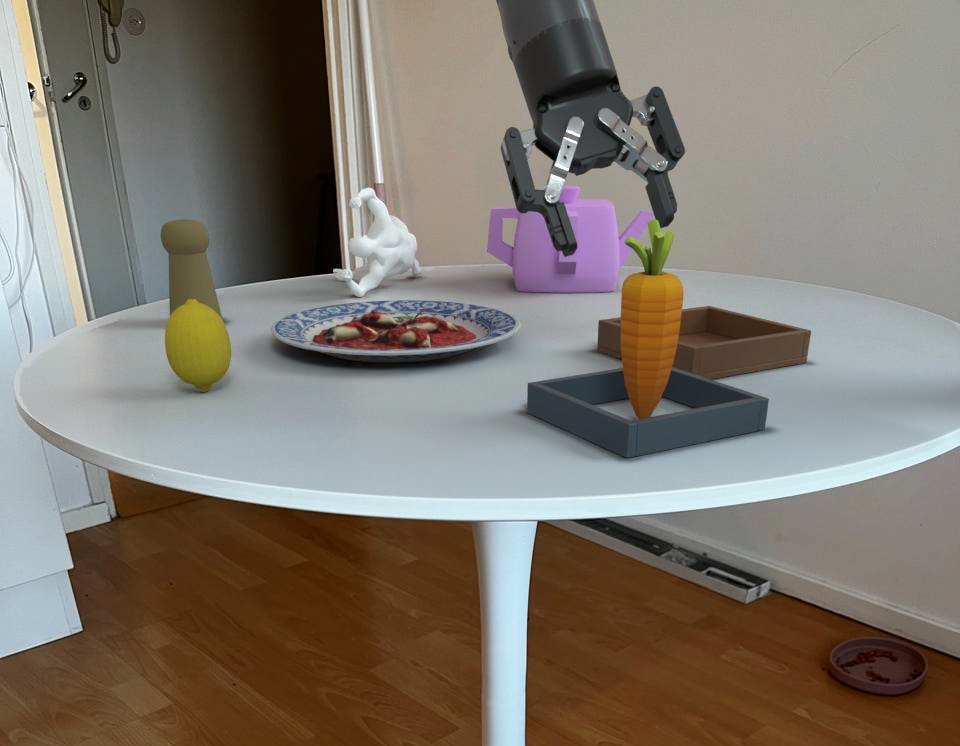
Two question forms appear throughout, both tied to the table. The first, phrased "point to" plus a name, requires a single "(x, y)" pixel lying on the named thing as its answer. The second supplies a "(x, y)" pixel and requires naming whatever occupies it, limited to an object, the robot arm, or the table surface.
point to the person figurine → (379, 248)
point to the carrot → (650, 322)
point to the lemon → (197, 345)
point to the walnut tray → (723, 342)
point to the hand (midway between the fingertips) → (619, 238)
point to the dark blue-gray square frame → (711, 420)
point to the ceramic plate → (395, 329)
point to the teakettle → (549, 268)
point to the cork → (188, 264)
